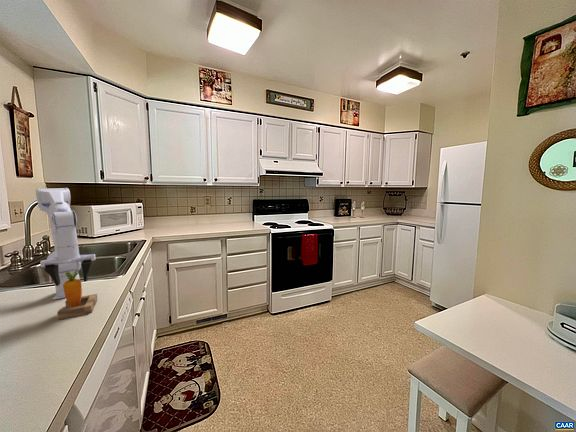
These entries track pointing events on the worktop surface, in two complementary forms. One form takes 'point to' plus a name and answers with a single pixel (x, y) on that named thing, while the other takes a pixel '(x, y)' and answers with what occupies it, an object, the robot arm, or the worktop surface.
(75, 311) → the walnut bracket
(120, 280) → the worktop surface
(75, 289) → the carrot
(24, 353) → the worktop surface
